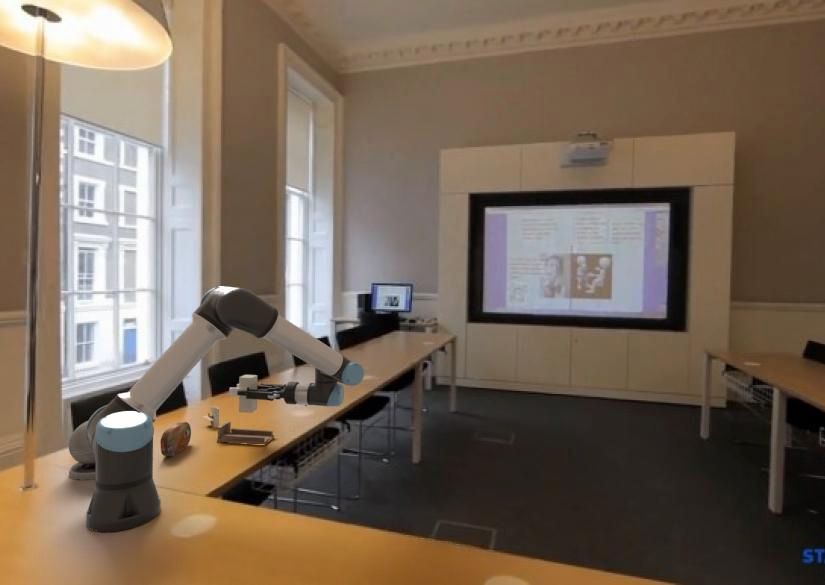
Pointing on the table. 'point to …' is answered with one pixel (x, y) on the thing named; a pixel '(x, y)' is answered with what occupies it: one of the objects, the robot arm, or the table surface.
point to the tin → (175, 439)
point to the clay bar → (244, 403)
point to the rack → (243, 435)
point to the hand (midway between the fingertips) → (233, 389)
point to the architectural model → (213, 417)
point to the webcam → (82, 455)
